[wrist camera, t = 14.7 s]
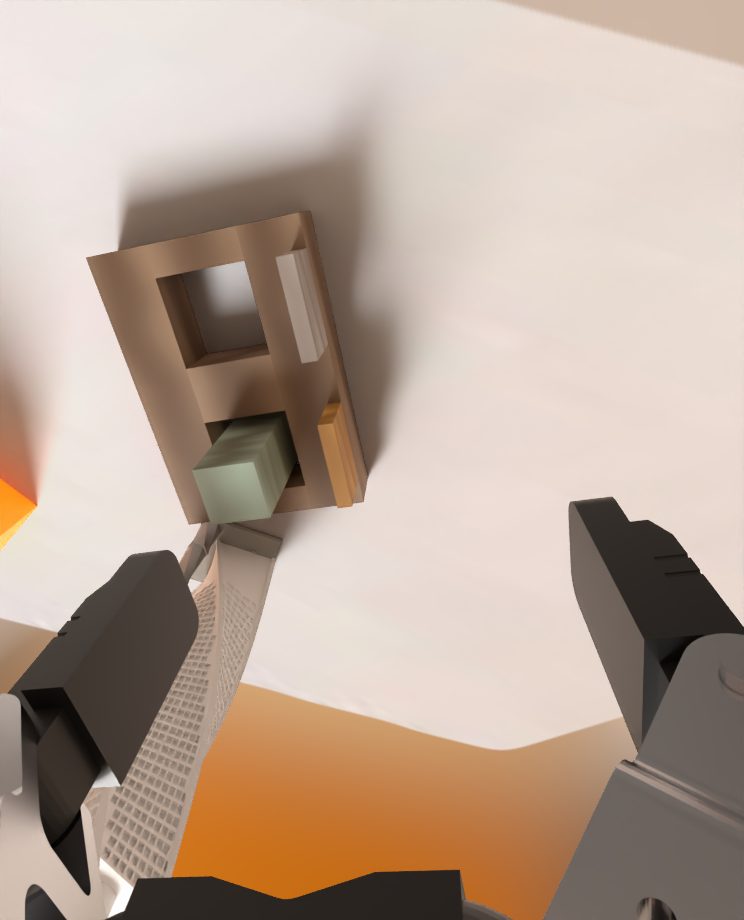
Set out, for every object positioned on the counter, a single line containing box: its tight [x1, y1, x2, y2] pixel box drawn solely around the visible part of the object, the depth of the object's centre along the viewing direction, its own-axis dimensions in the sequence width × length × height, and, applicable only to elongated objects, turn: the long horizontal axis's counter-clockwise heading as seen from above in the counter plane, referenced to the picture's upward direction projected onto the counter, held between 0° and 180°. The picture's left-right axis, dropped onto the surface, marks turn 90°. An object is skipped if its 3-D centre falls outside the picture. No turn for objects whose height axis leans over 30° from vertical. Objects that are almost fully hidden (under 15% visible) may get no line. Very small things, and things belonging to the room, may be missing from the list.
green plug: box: [192, 411, 298, 525], centre depth 39 cm, size 4×4×10 cm
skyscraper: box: [84, 522, 282, 918], centre depth 36 cm, size 8×8×28 cm
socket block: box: [86, 211, 368, 524], centre depth 37 cm, size 14×20×8 cm
